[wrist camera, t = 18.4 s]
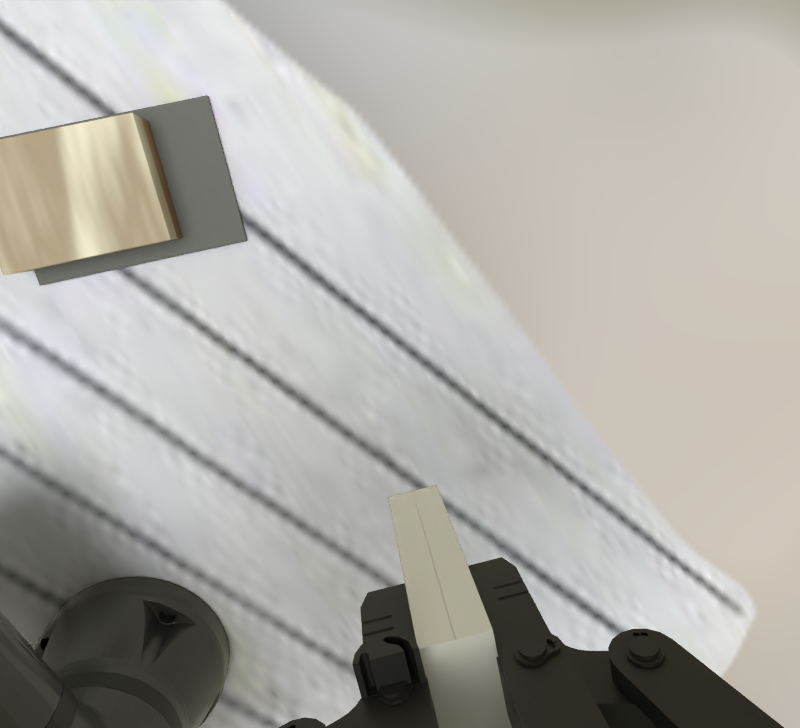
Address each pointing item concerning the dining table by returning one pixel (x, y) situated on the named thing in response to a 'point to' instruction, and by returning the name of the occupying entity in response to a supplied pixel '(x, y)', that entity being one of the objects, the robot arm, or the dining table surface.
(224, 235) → the mat
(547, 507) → the dining table surface
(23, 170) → the slab
